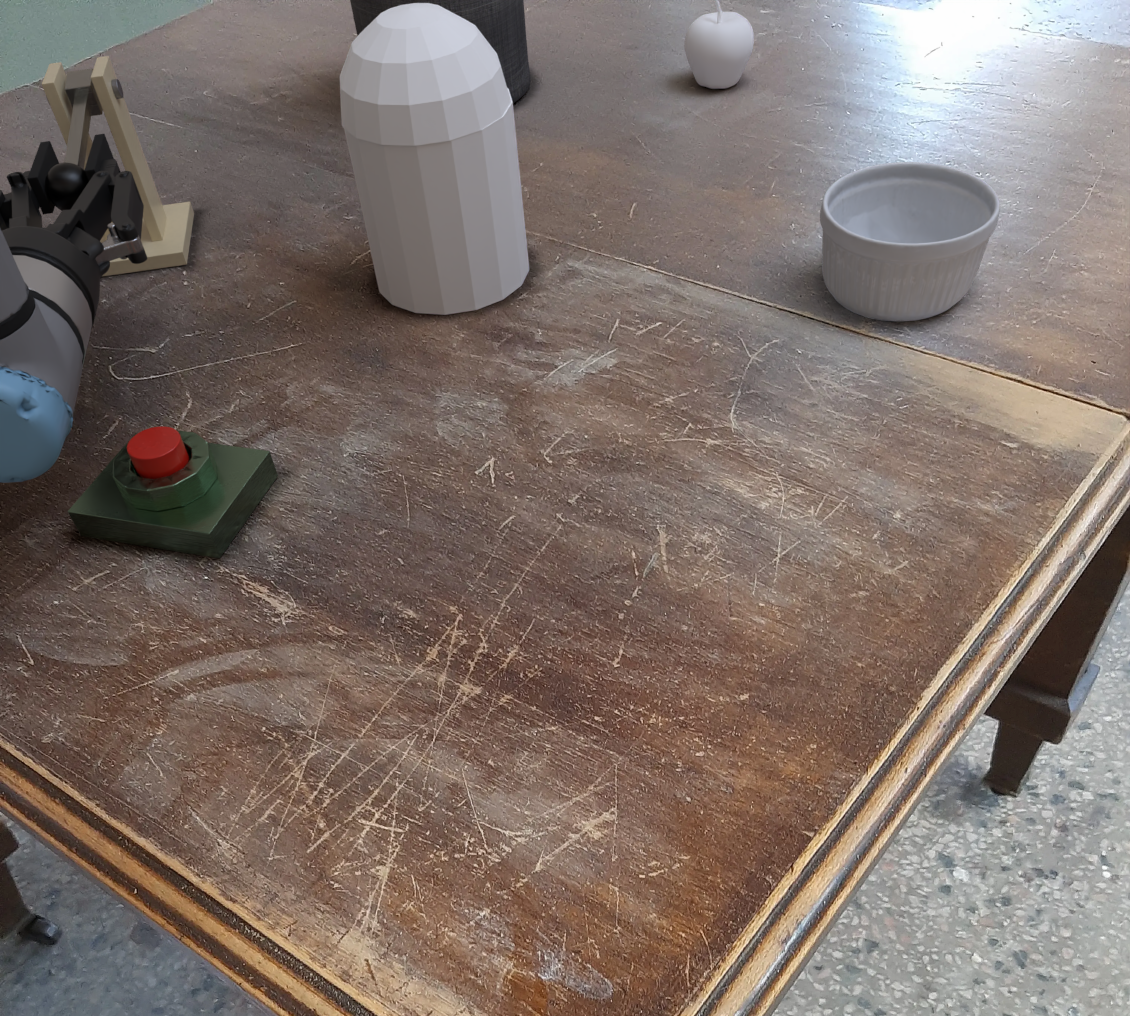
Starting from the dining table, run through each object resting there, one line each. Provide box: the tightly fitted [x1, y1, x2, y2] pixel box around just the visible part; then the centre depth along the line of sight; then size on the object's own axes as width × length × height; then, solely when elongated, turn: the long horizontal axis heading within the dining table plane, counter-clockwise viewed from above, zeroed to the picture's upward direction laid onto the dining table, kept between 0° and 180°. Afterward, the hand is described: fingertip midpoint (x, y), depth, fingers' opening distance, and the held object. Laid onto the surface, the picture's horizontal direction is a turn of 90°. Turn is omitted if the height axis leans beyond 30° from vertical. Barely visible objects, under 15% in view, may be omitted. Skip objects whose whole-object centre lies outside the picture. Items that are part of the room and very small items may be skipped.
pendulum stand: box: [41, 55, 195, 277], centre depth 95 cm, size 10×9×15 cm
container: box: [339, 3, 530, 316], centre depth 86 cm, size 14×13×20 cm
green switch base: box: [67, 429, 279, 559], centre depth 75 cm, size 11×9×4 cm
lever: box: [45, 68, 104, 212], centre depth 87 cm, size 17×4×4 cm, turn 8°
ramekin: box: [819, 161, 1001, 323], centre depth 85 cm, size 13×13×7 cm
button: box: [127, 425, 189, 479], centre depth 73 cm, size 4×4×2 cm
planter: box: [349, 0, 532, 104], centre depth 112 cm, size 18×18×16 cm
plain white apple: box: [684, 0, 755, 90], centre depth 111 cm, size 7×7×8 cm
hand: (79, 155), depth 87 cm, fingers closed on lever, 4 cm apart
